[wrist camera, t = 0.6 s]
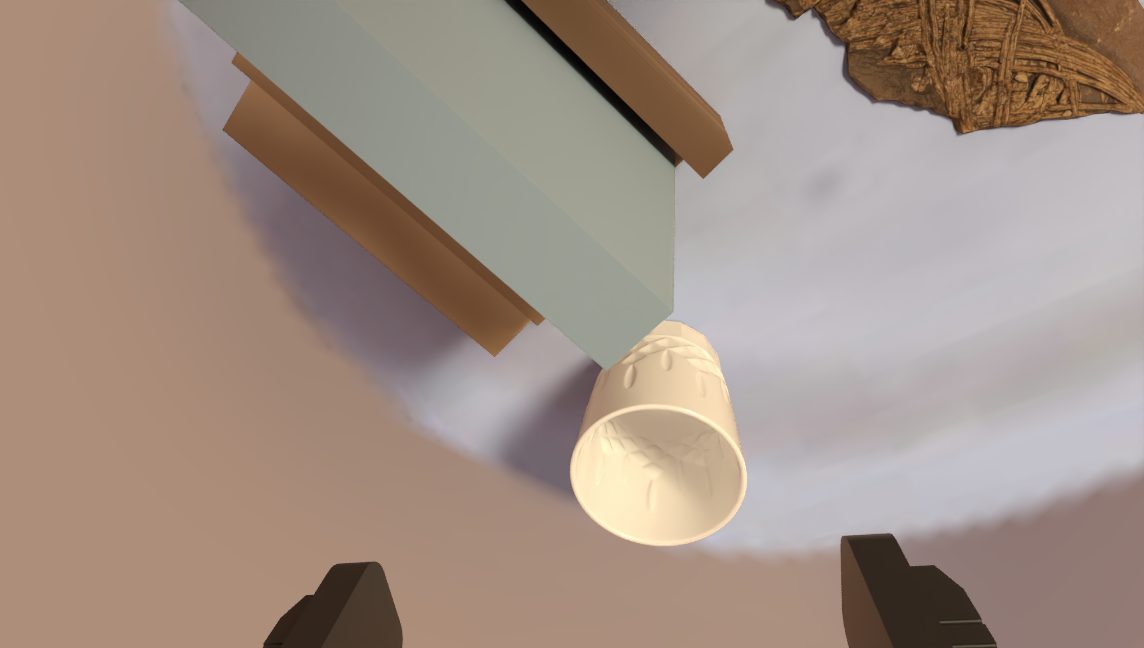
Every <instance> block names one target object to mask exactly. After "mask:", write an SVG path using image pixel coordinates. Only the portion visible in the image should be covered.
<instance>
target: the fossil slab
mask: <svg viewBox="0 0 1144 648" xmlns="http://www.w3.org/2000/svg"><path fill="white" fill-rule="evenodd" d="M774 1H776V2H779V3H780V4H782V5H783V6H785V7H786V8H787V10H788V11H789V12H790V13H791V14H792V15H793V16H794V17H795V18H798V17H800V16H801V15H802V14H803V13H804V12H806V11H807V10H809V9H810V8H812V7H814V8H815V9H816V10H817V12H818V13H819V15H820V17H821V18H823V19H824V20H825V23H826V25H827V26H828V27H829V28H830V30H831V31H832V32H833V33H834V34H835V36H837V37H839V38H840V40H841V41H843V42H846V43H847V45H846V51H847V62H848V64H849V66H848V73H849V75H850V76H851V77H852V78H853V79H854V80H855V81H856V83H857V84H858V85H859V86H860V87H861V88H863V89H864V90H865V91H867V92H868V93H870V94H871V95H872V96H873V97H874V98H875V99H877V100H884V99H885V100H897V101H899V102H901V103H903V104H909V105H916V106H918V107H921V108H930V109H933V110H934V112H936V113H938V114H942V115H946V116H948V117H949V118H953V122H954V125H955V127H956V129H957V131H959V132H962V133H967V132H972V131H975V130H985V129H990V128H994V127H1000V126H1024V125H1028V124H1033V123H1037V122H1039V121H1041V120H1043V119H1048V118H1050V119H1070V118H1073V117H1075V118H1077V117H1081V116H1089V115H1091V114H1096V113H1108V112H1110V111H1116V110H1118V111H1120V112H1123V113H1126V114H1130V113H1140V114H1144V9H1143V7H1142V6H1141V5H1140V3H1139V1H1138V0H774Z"/></svg>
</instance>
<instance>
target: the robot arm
mask: <svg viewBox="0 0 1144 648" xmlns="http://www.w3.org/2000/svg"><path fill="white" fill-rule="evenodd" d="M841 585H842V614H843V622H844V628H845V633H846V638H847V641H848V645H849V648H997V645H996V642H995V640H994V638H993V637H992V635H991V633H990V632H989V630H988V628H987V627H986V625H985V624H983V623H982V620H981V617H980V615H979V614H978V612H977V610H976V609H975V607H974V605H973V604H972V602H971V601H970V599H969V597H968V596H967V594H966V592H965V591H964V589H963V588H961V587H960V586H959V585H958V584H956V583H955V582H954V581H953V580H952V579H950V578H949V577H948V576H947V575H945V574H944V573H943V572H942V571H941V570H939V569H938V568H937V567H936V566H934V565H930V566H910V565H909V563H908V562H907V560H906V558H905V556H904V554H903V552H902V550H901V548H900V546H899V544H898V543H897V541H896V539H895V537H894V536H893V535H892V534H890V533H886V534H869V535H851V536H842V538H841ZM402 637H403V636H402V628H401V624H400V620H399V617H398V614H397V611H396V608H395V605H394V602H393V598H392V595H391V592H390V589H389V586H388V583H387V580H386V577H385V573H384V571H383V568H382V566H381V565H380V564H379V563H378V562H360V563H343V564H336V565H334V566H333V567H332V568H331V569H330V570H329V572H328V573H327V575H326V576H325V578H324V579H323V581H322V583H321V584H320V586H319V587H318V589H317V591H316V592H315V594H314V595H306V596H305V597H304V598H303V599H301V600H300V601H299V602H298V603H297V604H296V605H295V606H293V607H292V608H291V609H290V610H289V611H288V612H287V613H286V614H285V615H283V616H282V617H281V618H280V620H279V621H278V623H277V624H276V626H275V627H274V629H273V630H272V632H271V633H270V635H269V636H268V638H267V639H266V641H265V642H264V646H263V648H402V641H403V638H402Z"/></svg>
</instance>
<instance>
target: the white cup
mask: <svg viewBox="0 0 1144 648" xmlns="http://www.w3.org/2000/svg"><path fill="white" fill-rule="evenodd" d="M570 479H571V485H572V488H573V491H574V494H575V496H576V498H577V500H578V502H579V504H580V505H581V507H582V508H583V509H584V511H585V512H586V513H587V514H588V515H589V516H590V517H591V518H592V519H593V520H594V521H595V522H596V523H597V524H599V525H600V526H601V527H603V528H604V529H606V530H607V531H609V532H611V533H612V534H614V535H616V536H619V537H621V538H623V539H626V540H629V541H632V542H636V543H640V544H645V545H653V546H675V545H682V544H687V543H691V542H694V541H697V540H700V539H703V538H705V537H707V536H709V535H711V534H713V533H714V532H716V531H718V530H719V529H720V528H722V527H723V526H724V525H725V524H727V523H728V522H729V521H730V520H731V519H732V517H733V516H734V515H735V514H736V512H737V511H738V509H739V507H740V506H741V503H742V501H743V499H744V496H745V492H746V487H747V472H746V466H745V461H744V457H743V453H742V448H741V444H740V439H739V434H738V430H737V425H736V420H735V416H734V412H733V408H732V404H731V401H730V397H729V393H728V389H727V385H726V383H725V380H724V378H723V375H722V372H721V367H720V362H719V357H718V355H717V353H716V352H715V350H714V349H713V348H712V346H711V345H710V343H709V342H708V340H707V339H706V337H705V336H704V335H703V334H701V333H699V332H697V331H696V330H694V329H692V328H690V327H689V326H687V325H685V324H683V323H681V322H674V321H664V320H663V321H662V322H661V323H660V324H659V325H658V326H657V327H656V328H654V329H653V330H652V331H651V332H650V333H649V334H648V335H647V336H645V337H644V338H643V339H642V340H641V341H640V342H639V343H638V344H636V345H635V346H634V347H633V348H632V349H631V350H630V351H629V352H627V353H626V354H625V355H624V356H623V357H622V358H621V359H619V360H618V361H617V362H616V363H615V364H614V365H613V366H612V367H610V368H609V369H608V370H607V371H606V370H605V369H603V368H602V370H601V371H600V373H599V374H598V376H597V380H596V383H595V385H594V388H593V390H592V394H591V397H590V399H589V402H588V405H587V408H586V411H585V415H584V418H583V422H582V425H581V428H580V431H579V434H578V438H577V441H576V444H575V447H574V451H573V454H572V457H571V462H570Z"/></svg>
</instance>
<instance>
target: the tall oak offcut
mask: <svg viewBox="0 0 1144 648" xmlns="http://www.w3.org/2000/svg"><path fill="white" fill-rule="evenodd" d="M231 63H233V64H234V65H235V66H236V67H237V68H238V69H240V70H241V71H242V72H243V73H244V74H245V75H247V76H248V77H249V78H250V79H251V80H252V81H253V82H255V83H256V84H257V85H258V86H259V87H260V88H262V89H263V90H264V91H265V92H266V93H267V94H269V95H270V96H271V97H272V98H273V99H274V100H276V101H277V102H278V103H279V104H280V105H281V106H283V107H284V108H285V109H286V110H287V111H288V112H289V113H291V114H292V115H293V116H294V117H295V118H296V119H298V120H299V121H300V122H301V123H302V124H303V125H305V126H306V127H307V128H308V129H309V130H310V131H312V132H313V133H314V134H315V135H316V136H317V137H319V138H320V139H321V140H322V141H323V142H324V143H326V144H327V145H328V146H329V147H330V148H331V149H332V150H334V151H335V152H336V153H337V154H338V155H339V156H341V157H342V158H343V159H344V160H345V161H346V162H348V163H349V164H350V165H351V166H352V167H353V168H355V169H356V170H357V171H358V172H359V173H360V174H362V175H363V176H364V177H365V178H366V179H367V180H369V181H370V182H371V183H372V184H373V185H374V186H375V187H377V188H378V189H379V190H380V191H381V192H382V193H384V194H385V195H386V196H387V197H388V198H389V199H391V200H392V201H393V202H394V203H395V204H396V205H398V206H399V207H400V208H401V209H402V210H403V211H405V212H406V213H407V214H408V215H409V216H410V217H412V218H413V219H414V220H415V221H416V222H417V223H418V224H420V225H421V226H422V227H423V228H424V229H425V230H427V231H428V232H429V233H430V234H431V235H432V236H434V237H435V238H436V239H437V240H438V241H439V242H441V243H442V244H443V245H444V246H445V247H446V248H448V249H449V250H450V251H451V252H452V253H453V254H454V255H456V256H457V257H458V258H459V259H460V260H461V261H463V262H464V263H465V264H466V265H467V266H468V267H470V268H471V269H472V270H473V271H474V272H475V273H477V274H478V275H479V276H480V277H481V278H482V279H484V280H485V281H486V282H487V283H488V284H489V285H491V286H492V287H493V288H494V289H495V290H496V291H497V292H499V293H500V294H501V295H502V296H503V297H504V298H506V299H507V300H508V301H509V302H510V303H511V304H513V305H514V306H515V307H516V308H517V309H518V310H520V311H521V312H522V313H523V314H524V315H525V316H527V317H528V318H529V319H530V320H531V321H532V322H534V323H535V324H536V325H537V326H538V325H539V324H540V323H541V322H542V321H543V320H544V319H545V317H543V316H542V315H541V314H540V313H539V312H538V311H536V310H535V309H534V308H533V307H532V306H531V305H529V304H528V303H527V302H526V301H525V300H524V299H523V298H521V297H520V296H519V295H518V294H517V293H516V292H514V291H513V290H512V289H511V288H510V287H509V286H508V285H506V284H505V283H504V282H503V281H502V280H501V279H499V278H498V277H497V276H496V275H495V274H494V273H493V272H491V271H490V270H489V269H488V268H487V267H486V266H484V265H483V264H482V263H481V262H480V261H479V260H478V259H476V258H475V257H474V256H473V255H472V254H471V253H469V252H468V251H467V250H466V249H465V248H464V247H463V246H461V245H460V244H459V243H458V242H457V241H456V240H454V239H453V238H452V237H451V236H450V235H449V234H448V233H446V232H445V231H444V230H443V229H442V228H441V227H439V226H438V225H437V224H436V223H435V222H434V221H433V220H431V219H430V218H429V217H428V216H427V215H426V214H424V213H423V212H422V211H421V210H420V209H419V208H418V207H416V206H415V205H414V204H413V203H412V202H411V201H409V200H408V199H407V198H406V197H405V196H404V195H403V194H401V193H400V192H399V191H398V190H397V189H396V188H394V187H393V186H392V185H391V184H390V183H389V182H388V181H386V180H385V179H384V178H383V177H382V176H381V175H379V174H378V173H377V172H376V171H375V170H374V169H373V168H371V167H370V166H369V165H368V164H367V163H366V162H364V161H363V160H362V159H361V158H360V157H359V156H357V155H356V154H355V153H354V152H353V151H352V150H351V149H349V148H348V147H347V146H346V145H345V144H344V143H342V142H341V141H340V140H339V139H338V138H337V137H336V136H334V135H333V134H332V133H331V132H330V131H329V130H327V129H326V128H325V127H324V126H323V125H322V124H321V123H319V122H318V121H317V120H316V119H315V118H314V117H312V116H311V115H310V114H309V113H308V112H307V111H306V110H304V109H303V108H302V107H301V106H300V105H299V104H297V103H296V102H295V101H294V100H293V99H292V98H291V97H289V96H288V95H287V94H286V93H285V92H284V91H282V90H281V89H280V88H279V87H278V86H277V85H276V84H274V83H273V82H272V81H271V80H270V79H269V78H267V77H266V76H265V75H264V74H263V73H262V72H261V71H259V70H258V69H257V68H256V67H255V66H254V65H252V64H251V63H250V62H249V61H248V60H247V59H246V58H244V57H243V56H242V55H241V54H240V53H239V52H237V53H236V55H235V57H234V59H233V61H232V62H231Z"/></svg>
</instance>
